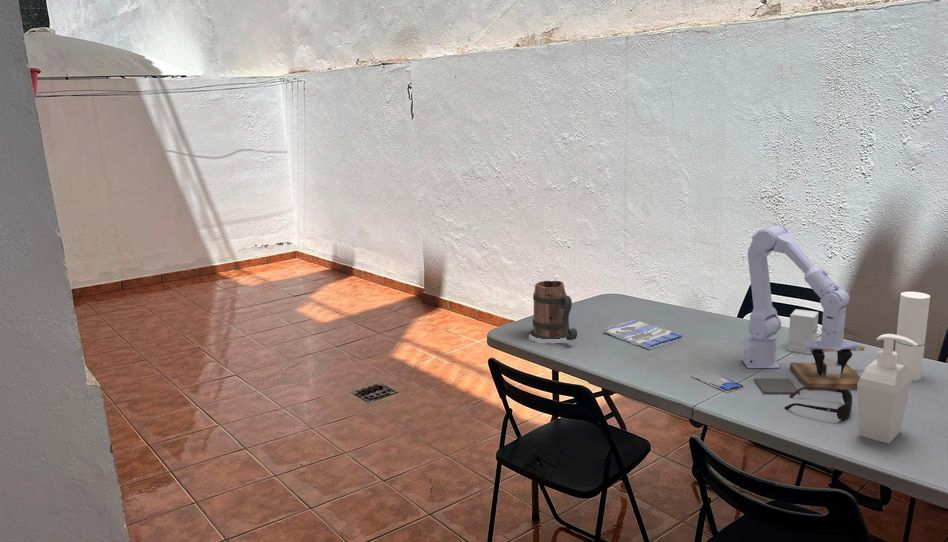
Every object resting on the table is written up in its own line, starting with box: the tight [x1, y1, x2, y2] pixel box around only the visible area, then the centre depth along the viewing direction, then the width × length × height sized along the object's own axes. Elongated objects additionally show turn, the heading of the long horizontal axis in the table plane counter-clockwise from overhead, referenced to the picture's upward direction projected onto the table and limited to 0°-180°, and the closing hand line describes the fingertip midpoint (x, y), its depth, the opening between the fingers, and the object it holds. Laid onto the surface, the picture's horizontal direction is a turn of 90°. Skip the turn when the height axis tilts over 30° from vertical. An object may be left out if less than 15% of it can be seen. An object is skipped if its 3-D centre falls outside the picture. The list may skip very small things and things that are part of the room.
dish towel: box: [603, 319, 683, 348], centre depth 250 cm, size 17×24×3 cm
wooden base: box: [789, 352, 861, 391], centre depth 205 cm, size 16×16×6 cm
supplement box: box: [787, 308, 819, 355], centre depth 228 cm, size 7×7×13 cm
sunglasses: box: [783, 386, 853, 422], centre depth 187 cm, size 14×16×5 cm
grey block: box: [822, 357, 841, 379], centre depth 204 cm, size 4×6×4 cm, turn 173°
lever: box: [822, 345, 865, 354], centre depth 210 cm, size 14×2×1 cm, turn 88°
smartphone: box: [709, 376, 745, 391], centre depth 208 cm, size 8×15×1 cm, turn 27°
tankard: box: [529, 280, 578, 341], centre depth 249 cm, size 24×17×20 cm
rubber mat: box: [753, 377, 801, 395], centre depth 202 cm, size 10×10×1 cm
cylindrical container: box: [894, 291, 931, 382], centre depth 202 cm, size 7×7×25 cm
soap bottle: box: [856, 333, 918, 445], centre depth 169 cm, size 12×10×26 cm
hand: (829, 373), depth 204 cm, fingers open, 5 cm apart
